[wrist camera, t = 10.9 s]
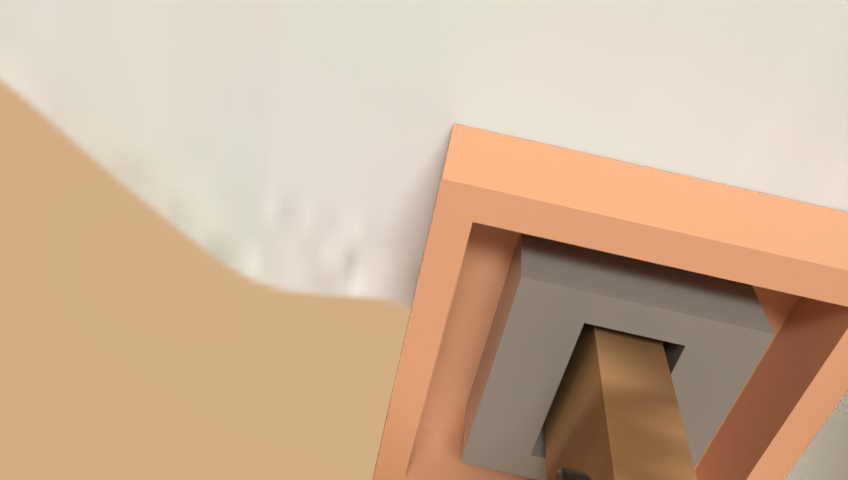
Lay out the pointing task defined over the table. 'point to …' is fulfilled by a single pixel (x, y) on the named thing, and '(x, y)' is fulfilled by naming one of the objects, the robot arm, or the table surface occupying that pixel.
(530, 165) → the candle dish
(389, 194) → the table surface
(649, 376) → the wooden block
